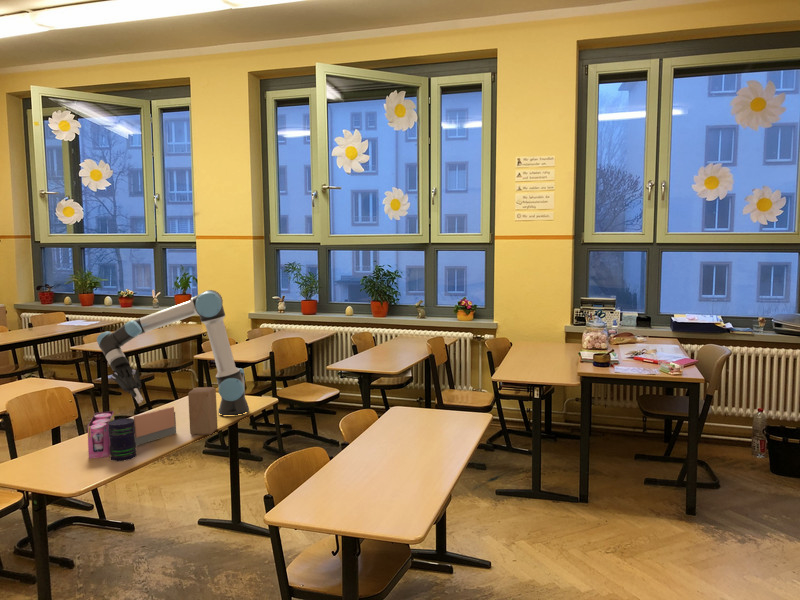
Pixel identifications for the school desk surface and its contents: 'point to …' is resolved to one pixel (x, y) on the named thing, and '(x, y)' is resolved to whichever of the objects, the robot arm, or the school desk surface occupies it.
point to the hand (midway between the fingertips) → (140, 401)
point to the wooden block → (202, 410)
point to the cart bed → (156, 435)
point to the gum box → (99, 435)
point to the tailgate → (154, 421)
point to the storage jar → (122, 439)
